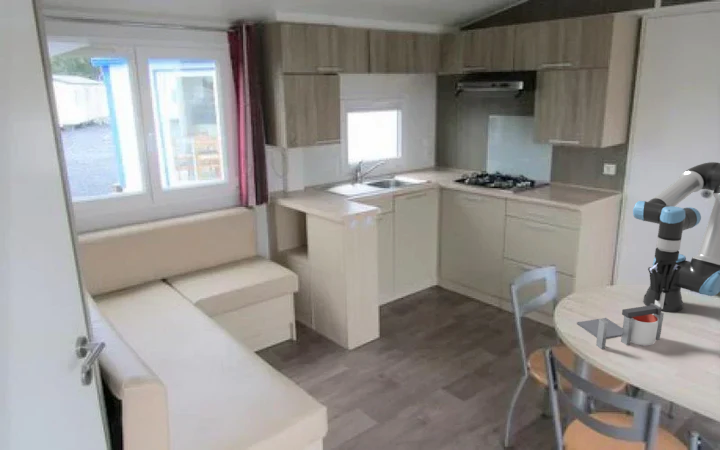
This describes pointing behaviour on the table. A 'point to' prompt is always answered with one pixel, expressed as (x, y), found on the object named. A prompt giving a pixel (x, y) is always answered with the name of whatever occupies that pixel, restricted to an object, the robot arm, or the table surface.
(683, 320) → the table surface
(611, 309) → the table surface
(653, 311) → the bar
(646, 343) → the cup
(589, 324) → the mat
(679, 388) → the table surface
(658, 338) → the posts
